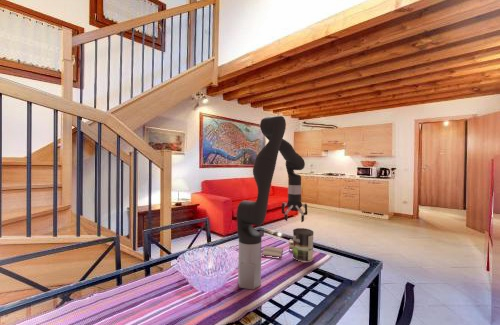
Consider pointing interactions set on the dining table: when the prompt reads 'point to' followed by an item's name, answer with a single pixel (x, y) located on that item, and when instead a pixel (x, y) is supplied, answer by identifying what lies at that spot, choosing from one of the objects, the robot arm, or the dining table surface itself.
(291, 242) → the letter cube
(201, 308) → the dining table surface
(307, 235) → the coffee can
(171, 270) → the dining table surface
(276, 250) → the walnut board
